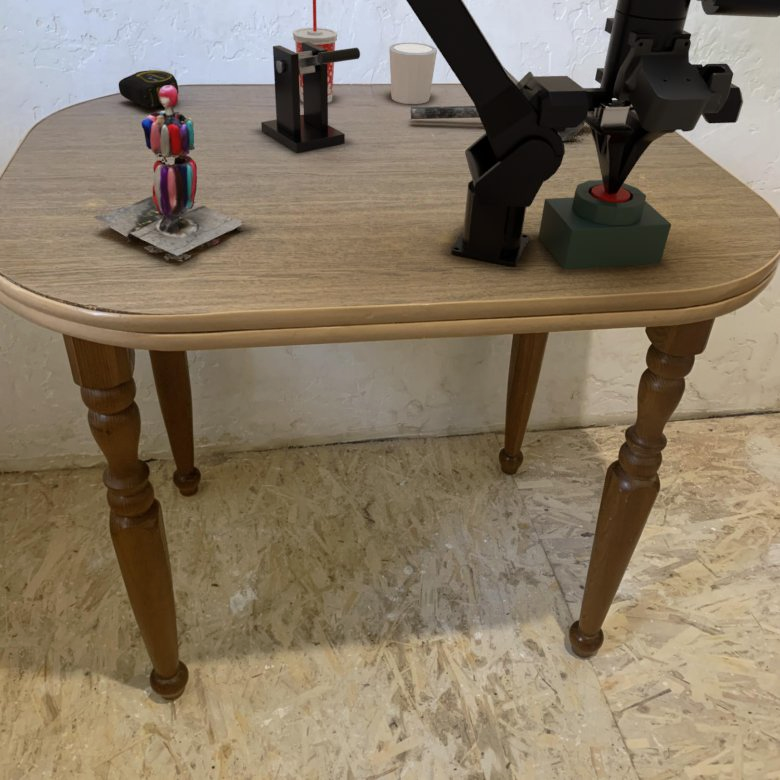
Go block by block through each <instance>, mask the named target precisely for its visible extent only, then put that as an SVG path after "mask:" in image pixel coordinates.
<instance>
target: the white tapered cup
mask: <svg viewBox="0 0 780 780" xmlns="http://www.w3.org/2000/svg"><path fill="white" fill-rule="evenodd" d="M388 50H389V53H388V54H389V71H390V73H389V74H390V88H391V89H390V93H391V94H390V95H391V100H393V101H394V102H397V103H399V104H405V105H420V104H421V105H422V104H426V103H427V102H429V101H430V99H431V92H432V85H433V79H434V78H433V77H434V72H435V67H436V60H437V53H438V48H437V47H435V46H434V45H430V44H426V43H419V42H398V43H394V44H391V45H389V46H388Z"/></svg>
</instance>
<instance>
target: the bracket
mask: <svg viewBox="0 0 780 780" xmlns="http://www.w3.org/2000/svg"><path fill="white" fill-rule="evenodd" d="M306 51H312V54H313V56H316V55H318V53H321V52H327V50H326V49H324V48H322V47H320V46H317V45H315V44H313V43H310V42H302V52H306ZM272 56H273V57H272V58H273V75H274V77H273V78H274V95H275V96H274V97H275V117H276V118H275V119H271V120H266V121H265V120H264V121H261V123H260V125H261V126H260V127H261V132H262V133H263V134H265V135H267V136H268V137H270V138H272V139H273V140H275V141H277V142H278V143H279V144H281V145H283V146H285V147H286V148H288V149H289V150H291V151H293V152H294V153H296V154H301V153H306V152H309V151H314V150H319V149H323V148H328V147H333V146H338V145H342V144H345V143H346V141H345V139H346V136H345V135H346V134H345V133H343V132H342V131H340V130H339V129H337V128H334V127H333V126H331V125H330V124H329V103H328V70H327V64H321V65H315V71H316V72H313V73H307V74H303V102H302V104H303V105H302V106H303V114H301V99H300V89H299V58H298V53H296V51H293V50H291V49H290V48H287V47H284V46H283V45H273V46H272Z"/></svg>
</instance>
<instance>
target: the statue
mask: <svg viewBox="0 0 780 780" xmlns="http://www.w3.org/2000/svg"><path fill="white" fill-rule="evenodd" d="M159 97H160V100H161V103H162V105H161V106H163V108H164V110H161V111H160V112H156V111H154V112H152V113H150V114H149V115H147V117H146V118H145V119H143V120H142V121H141V128H142V129H143V134H144V139H145V144H146V147H147V149H148V150H151V151H152V153H153V154H154V155H155V156H156V158H161V160H160V159H159V160H158V159H157V160H156V161H155V162H154V164H153V168H152V169H153V173H154V174H153V175H154V176H153V177H154V178H153V185H152V195H151V196H149V197H148V196H147V198H143V199H141V200H139V201H137V202H134V203H132V204H128V205H124V206H120V207H118V208H116V209H113V210H111V211H108V212H105V213H100V214H97V215H94V216H93V219H96V220H98V221H100V222H101V223H103V224H104V225H106V226H107V227H109V228H111V229H112V230H114V231H116V232H117V233H119V234H121V235H122V236H124V237H126V238H127V240H126V243H130V242H132V241H133V240H136V239H137V238H139V239H140V240H141V241H145V242H147V243H148V244H151V245H148V246H144V247H143V249H144V250H147V251H148V252H149V253H153V254H158V253H165V255H164V256H163V258H164V259H165V261H170V260H177V261H178V262H183V261H185V260H188V259H189V258H191V256H192V254H187V253H186V252H189V251H191V250H195V248H196V247H201V248H202V247H204V244H205V243H206V245H207V246H216V245H217V244H218V243H220V242H221V239H220V238H218V237H220V236H223V235H224V234H226V233H229V232H232V231H234V230H235V229H236V231H238V232H244V231H246V227H243V226H242V225H244V224H246V222H245V221H243V220H240V219H238V218H235V217H232V216H229V215H226V214H223V213H221V212H218V211H217V210H215V209H213V208H210V207H208V206H205V205H204V204H202V203H200V202H199V201H196V200H195V198H196V194H197V187H198V186H197V185H198V184H197V183H198V172H197V171H198V170H197V169H198V167H197V163H196V162H195V160H194V159H193V158H192V156H191V155H189V154H190V152H191V151H193V150H196V148H195V130H194V121H193V118H191V117H185V115H184V114H182V113H180V112H179V111H174V108H175V107H176V105H177V104H178V99H179V93H178V94H177V90H176V88H175V87H174V86H172V85H167V86H164V87H162V88H161V89H160V91H159ZM168 158H173V159H174V162H173V164H170V163H167V162H168ZM183 259H184V260H183Z"/></svg>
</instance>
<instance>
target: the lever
mask: <svg viewBox="0 0 780 780" xmlns="http://www.w3.org/2000/svg"><path fill="white" fill-rule="evenodd" d="M360 57H361V52H360V49H359V47H350V48H343V49H335V51H328V52H321V53H318V55H316V56H313V54H312V51H306V52H299V53H298V58H299V75H301V74H307V73H313V72H316V71H315V65H321V64H327V63H334V64H335V63H339V62H346V61H352V60H354V61H355V60H359V59H360Z"/></svg>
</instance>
